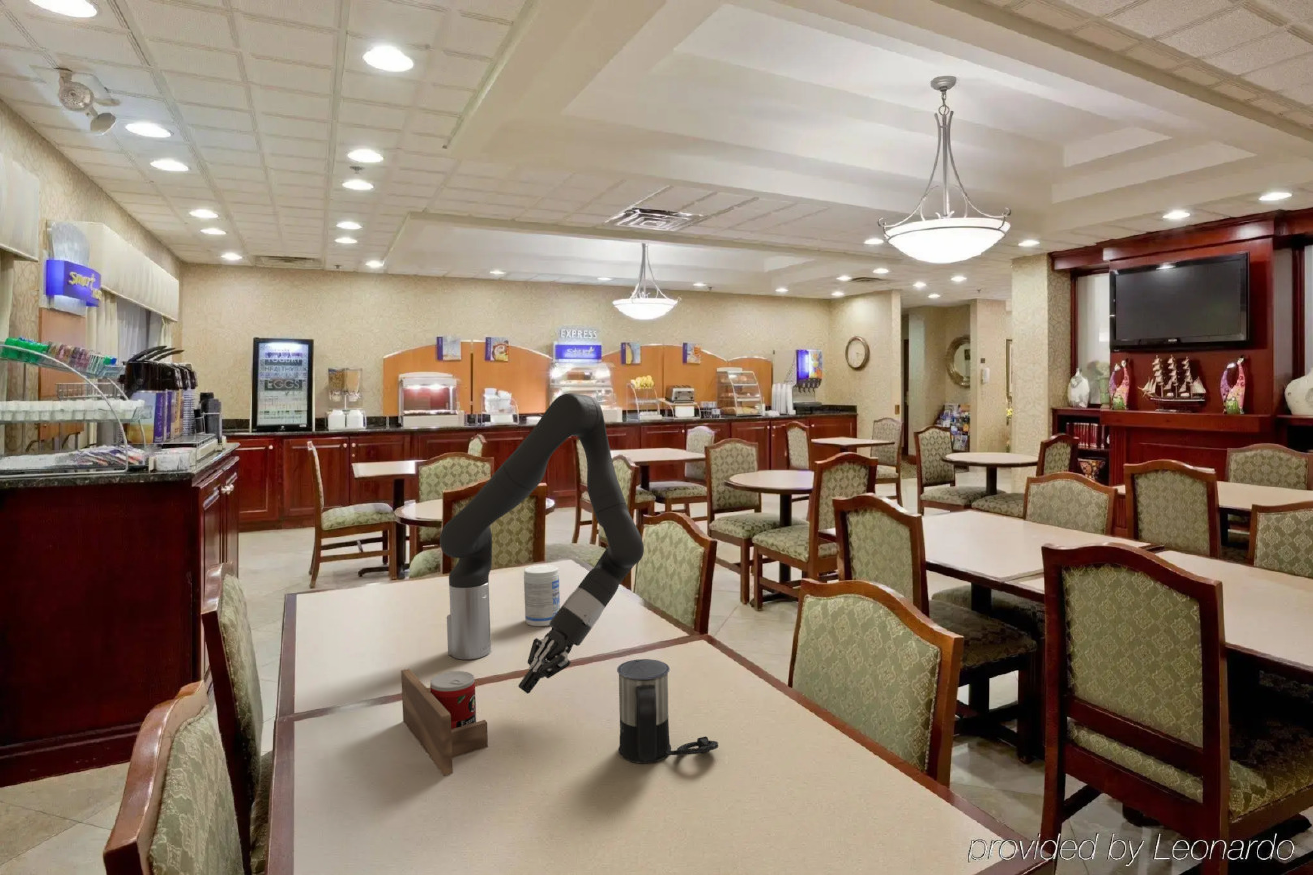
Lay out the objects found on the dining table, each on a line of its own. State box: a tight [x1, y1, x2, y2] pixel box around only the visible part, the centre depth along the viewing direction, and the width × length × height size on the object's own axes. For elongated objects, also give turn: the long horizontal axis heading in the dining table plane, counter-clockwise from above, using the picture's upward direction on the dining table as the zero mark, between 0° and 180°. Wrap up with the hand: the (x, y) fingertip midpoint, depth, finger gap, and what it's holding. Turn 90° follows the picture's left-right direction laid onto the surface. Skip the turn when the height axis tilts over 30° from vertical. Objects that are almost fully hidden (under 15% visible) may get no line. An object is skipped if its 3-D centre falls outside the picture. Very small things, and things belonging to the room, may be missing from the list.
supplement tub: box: [523, 564, 561, 627], centre depth 194 cm, size 10×10×15 cm
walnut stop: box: [400, 668, 489, 776], centre depth 129 cm, size 10×24×10 cm, turn 35°
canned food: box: [429, 670, 477, 729], centre depth 129 cm, size 8×8×11 cm
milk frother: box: [616, 658, 719, 764], centre depth 123 cm, size 14×16×15 cm
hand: (523, 690), depth 137 cm, fingers closed
